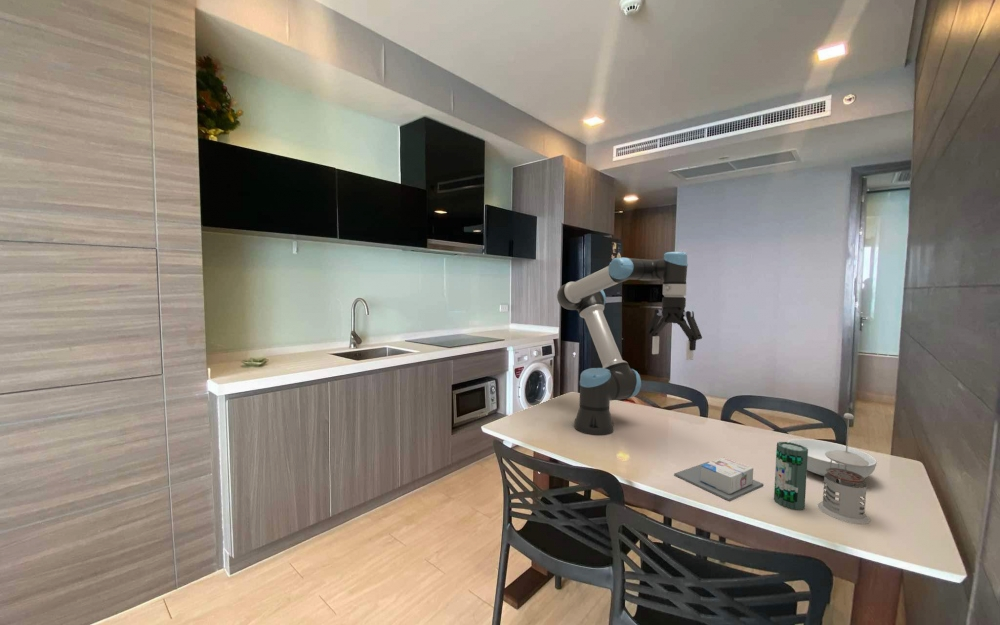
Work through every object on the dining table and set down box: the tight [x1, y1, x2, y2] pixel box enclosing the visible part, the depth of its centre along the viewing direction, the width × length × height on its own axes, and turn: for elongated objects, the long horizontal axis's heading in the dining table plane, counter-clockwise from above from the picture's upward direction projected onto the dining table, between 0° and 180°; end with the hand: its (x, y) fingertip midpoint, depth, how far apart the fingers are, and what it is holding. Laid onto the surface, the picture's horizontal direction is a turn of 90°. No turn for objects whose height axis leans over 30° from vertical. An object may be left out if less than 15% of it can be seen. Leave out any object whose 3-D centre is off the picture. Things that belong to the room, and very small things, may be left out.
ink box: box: [700, 457, 754, 494], centre depth 108 cm, size 9×5×12 cm
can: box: [773, 441, 808, 511], centre depth 99 cm, size 6×6×15 cm
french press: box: [817, 412, 871, 525], centre depth 95 cm, size 10×12×25 cm
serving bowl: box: [786, 438, 878, 480], centre depth 117 cm, size 21×21×7 cm
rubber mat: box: [674, 461, 764, 502], centre depth 110 cm, size 16×17×1 cm
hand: (671, 356), depth 135 cm, fingers open, 13 cm apart
